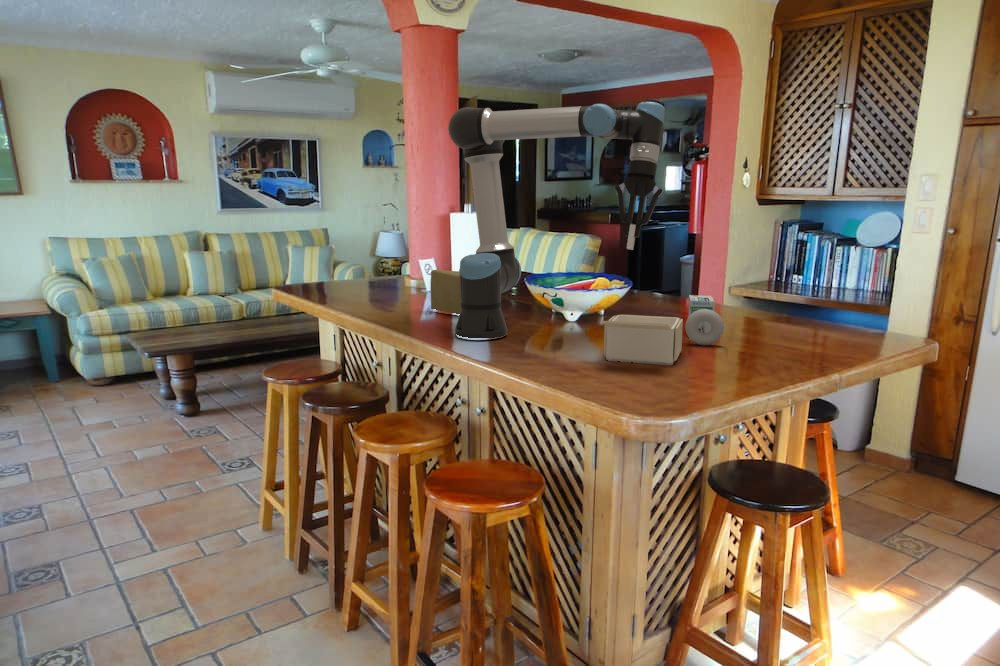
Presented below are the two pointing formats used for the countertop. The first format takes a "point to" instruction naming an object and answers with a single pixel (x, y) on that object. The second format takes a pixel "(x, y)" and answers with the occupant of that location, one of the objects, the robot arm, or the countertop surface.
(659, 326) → the flap
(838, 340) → the countertop surface
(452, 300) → the brown box
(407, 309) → the countertop surface
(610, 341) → the carton
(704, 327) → the light bulb box
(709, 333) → the donut
